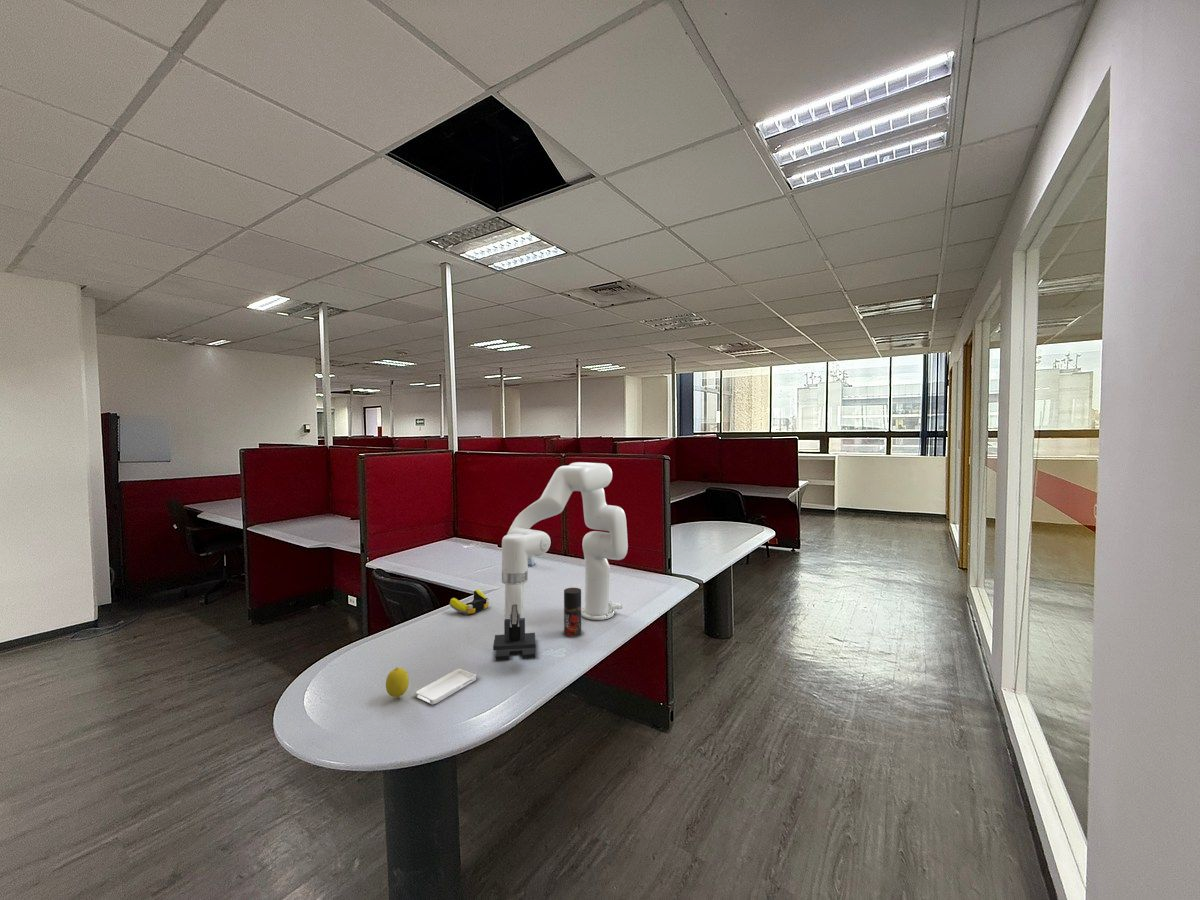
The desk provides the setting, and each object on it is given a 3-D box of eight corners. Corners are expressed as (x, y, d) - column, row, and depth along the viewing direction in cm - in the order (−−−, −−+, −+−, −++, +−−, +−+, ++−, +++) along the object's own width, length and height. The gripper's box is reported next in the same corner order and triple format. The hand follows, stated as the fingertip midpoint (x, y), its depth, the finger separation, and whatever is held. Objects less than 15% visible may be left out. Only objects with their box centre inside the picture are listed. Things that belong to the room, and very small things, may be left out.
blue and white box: (517, 565, 249) (517, 548, 248) (520, 563, 253) (520, 546, 253) (532, 566, 247) (532, 549, 247) (534, 563, 252) (534, 547, 251)
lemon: (390, 692, 127) (389, 663, 127) (411, 691, 128) (411, 662, 127) (382, 704, 122) (382, 673, 121) (405, 703, 122) (404, 672, 122)
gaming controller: (447, 612, 183) (464, 618, 178) (447, 598, 183) (464, 603, 177) (477, 601, 196) (494, 606, 190) (477, 588, 196) (494, 592, 190)
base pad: (534, 640, 159) (534, 637, 159) (535, 657, 147) (535, 653, 147) (498, 643, 157) (498, 639, 157) (495, 660, 145) (495, 656, 145)
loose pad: (534, 632, 149) (534, 610, 149) (535, 647, 139) (535, 623, 138) (495, 635, 147) (495, 612, 147) (493, 650, 137) (493, 625, 137)
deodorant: (583, 631, 166) (583, 588, 166) (577, 638, 161) (577, 594, 160) (568, 628, 168) (568, 586, 168) (561, 635, 163) (561, 592, 162)
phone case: (459, 672, 138) (414, 697, 125) (459, 667, 138) (414, 691, 125) (477, 679, 134) (433, 705, 121) (477, 674, 134) (433, 700, 121)
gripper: (503, 569, 148) (503, 628, 149) (500, 585, 133) (500, 650, 133) (527, 568, 149) (527, 626, 150) (527, 584, 134) (527, 648, 134)
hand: (514, 637), depth 142 cm, fingers closed on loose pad
